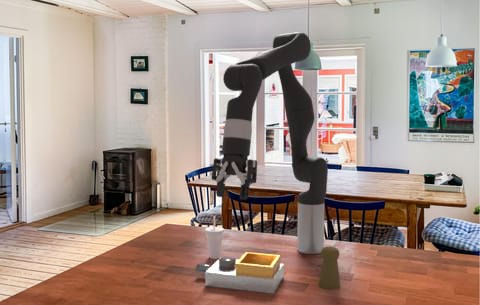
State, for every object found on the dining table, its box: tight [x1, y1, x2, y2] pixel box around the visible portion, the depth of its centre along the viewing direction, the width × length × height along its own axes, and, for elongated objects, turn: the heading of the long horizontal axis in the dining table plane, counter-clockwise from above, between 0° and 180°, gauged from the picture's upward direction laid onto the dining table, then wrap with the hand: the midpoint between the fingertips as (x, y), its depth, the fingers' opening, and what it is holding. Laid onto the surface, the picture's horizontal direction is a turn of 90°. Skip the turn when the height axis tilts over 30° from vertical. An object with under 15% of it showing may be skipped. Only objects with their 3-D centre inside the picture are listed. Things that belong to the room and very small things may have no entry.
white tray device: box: [195, 251, 284, 294], centre depth 142 cm, size 13×25×7 cm, turn 73°
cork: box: [318, 246, 341, 290], centre depth 138 cm, size 6×6×11 cm
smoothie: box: [204, 215, 225, 260], centre depth 163 cm, size 6×6×14 cm
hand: (231, 198), depth 129 cm, fingers open, 8 cm apart
